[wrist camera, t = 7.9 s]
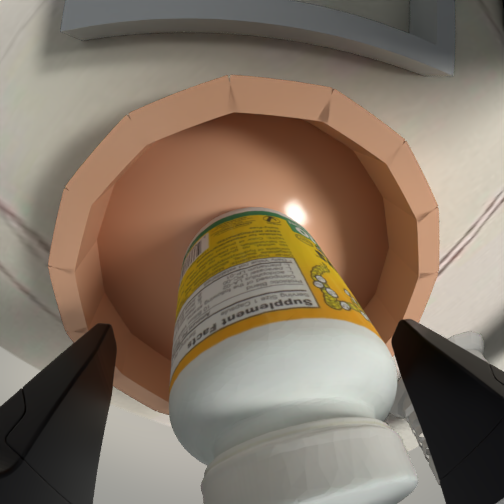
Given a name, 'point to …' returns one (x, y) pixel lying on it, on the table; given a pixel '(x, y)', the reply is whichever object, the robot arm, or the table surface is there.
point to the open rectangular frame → (280, 26)
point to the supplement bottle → (280, 372)
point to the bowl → (231, 198)
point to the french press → (403, 403)
